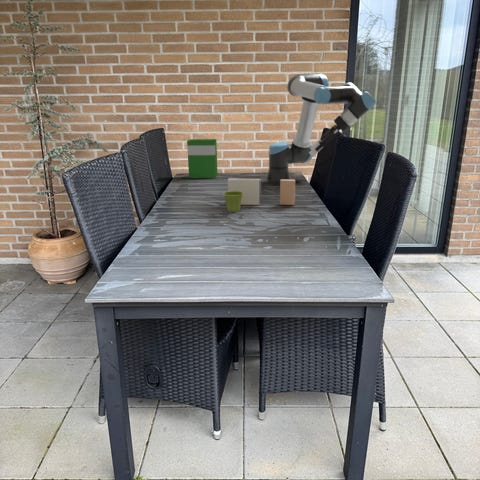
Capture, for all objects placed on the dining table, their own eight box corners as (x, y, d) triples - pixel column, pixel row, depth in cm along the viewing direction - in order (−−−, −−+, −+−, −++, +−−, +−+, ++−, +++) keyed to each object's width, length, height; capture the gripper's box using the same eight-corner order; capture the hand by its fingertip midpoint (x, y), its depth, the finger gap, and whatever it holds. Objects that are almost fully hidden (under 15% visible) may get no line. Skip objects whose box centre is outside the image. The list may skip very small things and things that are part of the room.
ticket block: (229, 202, 229) (229, 178, 225) (261, 203, 226) (261, 178, 222) (228, 204, 226) (227, 179, 222) (260, 204, 223) (260, 180, 219)
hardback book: (217, 176, 294) (216, 139, 287) (216, 178, 287) (214, 140, 280) (191, 176, 296) (189, 139, 288) (189, 178, 289) (186, 140, 281)
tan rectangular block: (280, 202, 224) (280, 179, 220) (294, 203, 223) (295, 179, 219) (280, 204, 222) (280, 180, 218) (294, 204, 220) (294, 180, 216)
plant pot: (220, 212, 212) (219, 194, 209) (229, 207, 220) (229, 190, 217) (237, 214, 208) (237, 196, 205) (246, 209, 216) (246, 192, 213)
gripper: (352, 129, 198) (315, 162, 205) (349, 123, 220) (316, 153, 228) (340, 117, 197) (304, 151, 204) (339, 112, 219) (306, 142, 227)
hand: (311, 152), depth 216 cm, fingers open, 13 cm apart
